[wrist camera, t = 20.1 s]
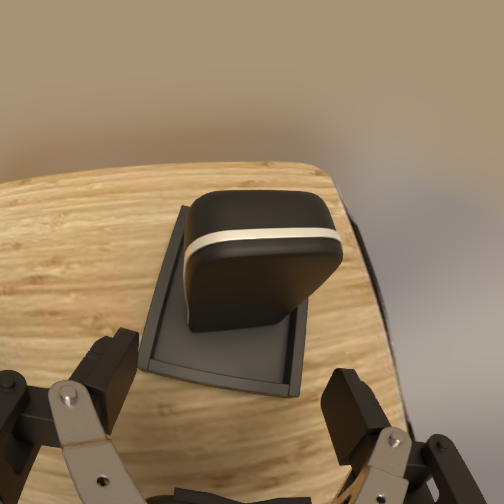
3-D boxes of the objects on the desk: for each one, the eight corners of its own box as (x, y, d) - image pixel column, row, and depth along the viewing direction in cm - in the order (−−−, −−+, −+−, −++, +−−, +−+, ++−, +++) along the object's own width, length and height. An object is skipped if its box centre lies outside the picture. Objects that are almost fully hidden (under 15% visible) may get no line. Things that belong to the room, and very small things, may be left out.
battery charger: (273, 277, 23) (335, 177, 13) (283, 324, 21) (363, 249, 11) (182, 283, 21) (180, 174, 11) (186, 334, 20) (184, 259, 10)
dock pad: (140, 370, 18) (135, 366, 16) (181, 220, 25) (181, 204, 23) (289, 397, 19) (299, 397, 17) (302, 248, 26) (311, 235, 24)
